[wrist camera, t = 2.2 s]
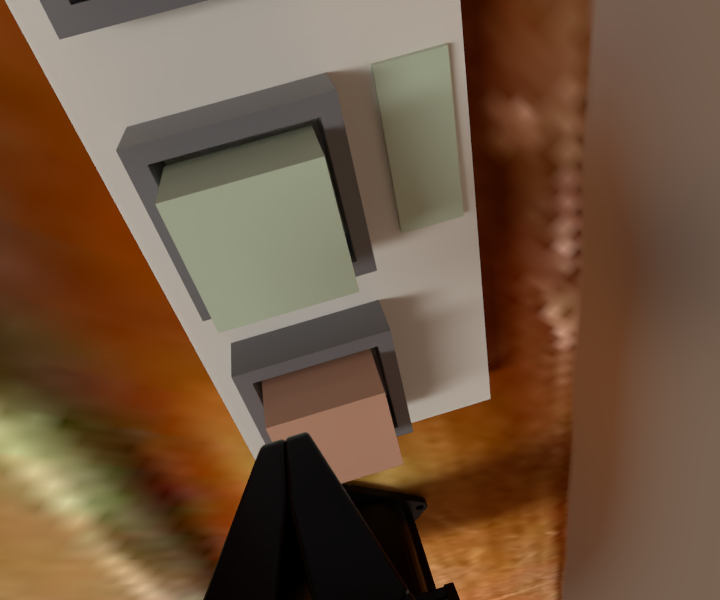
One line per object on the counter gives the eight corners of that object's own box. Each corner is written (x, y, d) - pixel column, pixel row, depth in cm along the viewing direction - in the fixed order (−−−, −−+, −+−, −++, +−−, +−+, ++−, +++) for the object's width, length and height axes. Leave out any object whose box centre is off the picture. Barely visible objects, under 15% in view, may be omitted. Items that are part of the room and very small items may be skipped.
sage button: (344, 250, 18) (359, 291, 16) (219, 286, 18) (218, 332, 16) (311, 125, 15) (324, 156, 13) (163, 166, 15) (155, 204, 13)
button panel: (475, 371, 28) (507, 429, 25) (258, 437, 28) (262, 504, 25) (387, -531, 11) (451, -704, 8) (-176, -404, 11) (-343, -536, 8)
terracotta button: (388, 418, 24) (403, 464, 22) (292, 447, 23) (299, 496, 21) (369, 347, 21) (385, 392, 19) (261, 379, 21) (265, 428, 19)
